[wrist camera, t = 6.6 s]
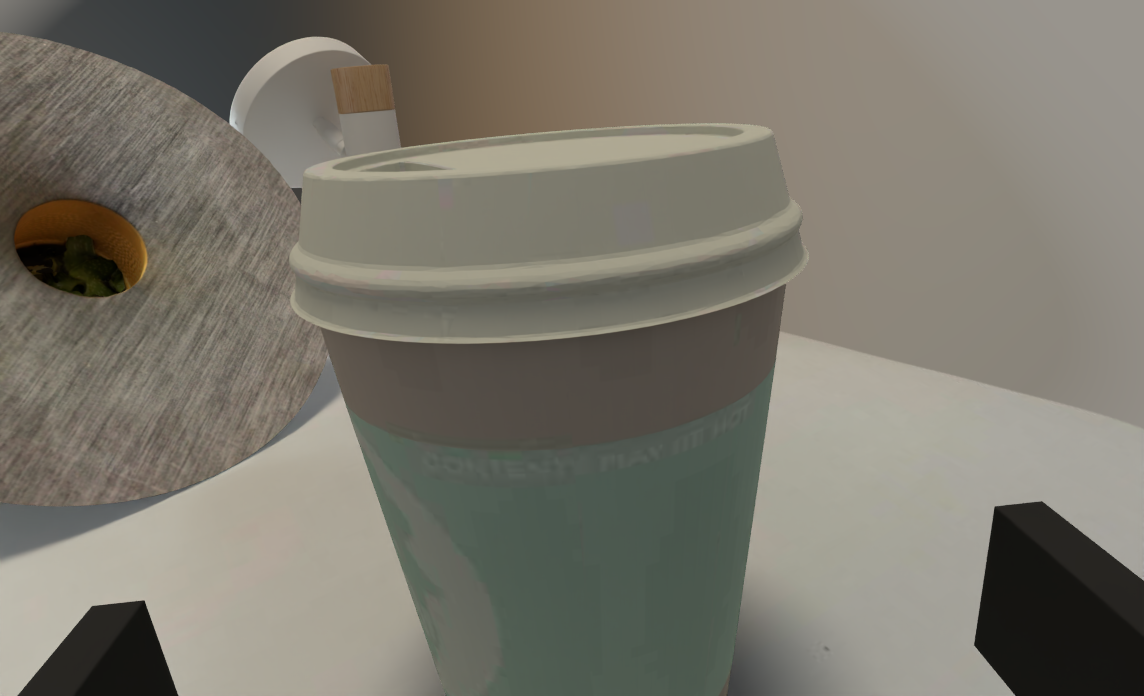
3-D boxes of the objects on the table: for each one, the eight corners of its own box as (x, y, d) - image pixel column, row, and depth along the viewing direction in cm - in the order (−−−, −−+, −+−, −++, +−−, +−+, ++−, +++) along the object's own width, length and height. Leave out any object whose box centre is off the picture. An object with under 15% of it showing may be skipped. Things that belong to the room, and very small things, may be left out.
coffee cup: (460, 572, 25) (390, 142, 20) (765, 579, 24) (773, 112, 19) (323, 886, 16) (117, 201, 10) (830, 935, 14) (885, 148, 9)
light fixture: (363, 408, 54) (429, 199, 41) (218, 238, 60) (237, 11, 48) (481, 355, 63) (566, 170, 50) (345, 211, 69) (390, 15, 57)
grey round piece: (351, 431, 53) (137, 188, 54) (446, 308, 41) (170, -4, 42) (-25, 698, 35) (-343, 328, 36) (-51, 618, 23) (-531, 60, 24)
